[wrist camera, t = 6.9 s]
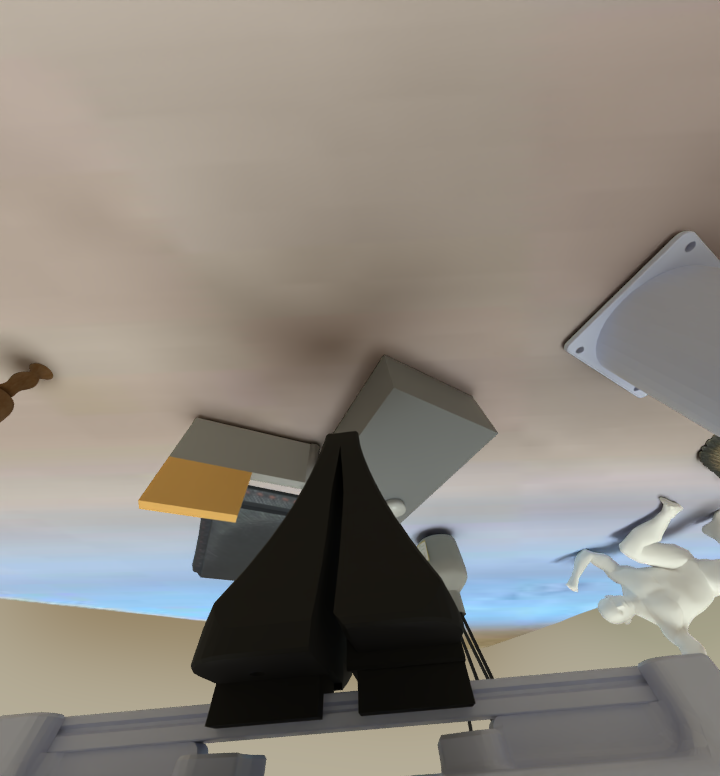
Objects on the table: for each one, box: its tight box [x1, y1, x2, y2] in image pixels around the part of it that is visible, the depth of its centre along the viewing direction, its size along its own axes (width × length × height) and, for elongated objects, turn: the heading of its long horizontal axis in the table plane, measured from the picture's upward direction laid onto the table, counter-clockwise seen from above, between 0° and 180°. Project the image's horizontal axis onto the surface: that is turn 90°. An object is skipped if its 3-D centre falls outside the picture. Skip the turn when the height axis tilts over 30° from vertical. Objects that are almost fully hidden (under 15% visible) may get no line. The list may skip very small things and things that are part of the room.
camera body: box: [334, 355, 498, 523], centre depth 20 cm, size 8×13×4 cm, turn 152°
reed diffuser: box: [417, 534, 494, 731], centre depth 24 cm, size 10×7×20 cm
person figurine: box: [566, 497, 720, 665], centre depth 31 cm, size 13×13×18 cm
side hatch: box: [138, 417, 320, 523], centre depth 18 cm, size 1×10×7 cm, turn 68°
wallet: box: [192, 485, 299, 581], centre depth 30 cm, size 20×2×15 cm
